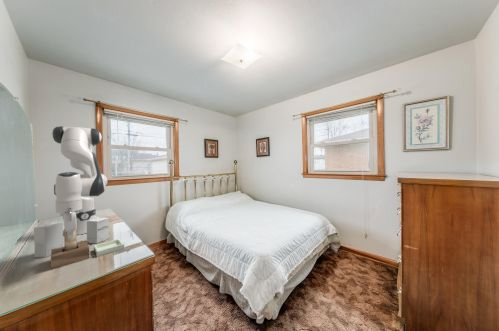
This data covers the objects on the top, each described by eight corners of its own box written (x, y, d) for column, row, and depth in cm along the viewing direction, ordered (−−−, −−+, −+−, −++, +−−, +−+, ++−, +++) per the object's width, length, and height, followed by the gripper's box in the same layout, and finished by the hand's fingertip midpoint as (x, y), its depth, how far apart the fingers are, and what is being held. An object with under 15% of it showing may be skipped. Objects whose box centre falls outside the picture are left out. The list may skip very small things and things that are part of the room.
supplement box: (96, 243, 99) (96, 221, 99) (86, 243, 101) (85, 220, 101) (109, 238, 107) (109, 217, 107) (99, 237, 108) (99, 217, 108)
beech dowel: (64, 253, 83) (64, 228, 83) (76, 250, 86) (76, 225, 86) (64, 256, 80) (64, 230, 80) (76, 253, 83) (76, 227, 83)
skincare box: (53, 249, 93) (52, 221, 93) (64, 249, 93) (63, 221, 93) (33, 258, 85) (32, 227, 85) (45, 257, 85) (45, 226, 85)
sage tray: (94, 250, 91) (93, 245, 91) (119, 243, 99) (119, 238, 99) (97, 257, 84) (96, 251, 84) (124, 248, 92) (124, 244, 92)
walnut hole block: (51, 260, 82) (51, 249, 82) (86, 250, 91) (86, 240, 91) (51, 269, 74) (50, 257, 74) (89, 258, 83) (89, 247, 83)
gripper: (80, 208, 78) (81, 240, 78) (77, 202, 92) (78, 229, 92) (59, 211, 74) (60, 245, 74) (59, 205, 87) (60, 233, 87)
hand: (70, 236), depth 83 cm, fingers closed on beech dowel, 4 cm apart
